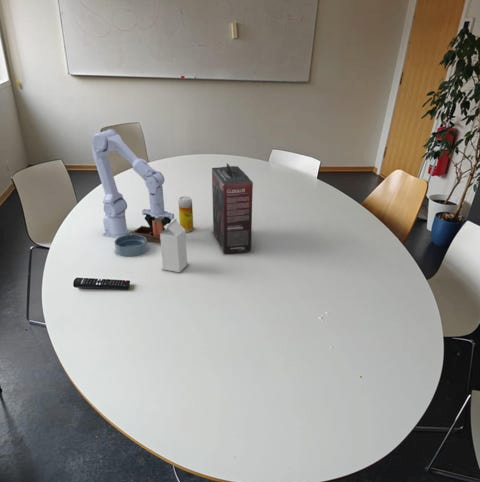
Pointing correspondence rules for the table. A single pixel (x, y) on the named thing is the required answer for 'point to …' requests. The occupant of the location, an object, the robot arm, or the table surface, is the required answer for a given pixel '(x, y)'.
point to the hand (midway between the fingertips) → (159, 232)
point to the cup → (157, 226)
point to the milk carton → (173, 247)
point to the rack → (147, 234)
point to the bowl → (131, 245)
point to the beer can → (186, 213)
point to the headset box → (232, 208)
